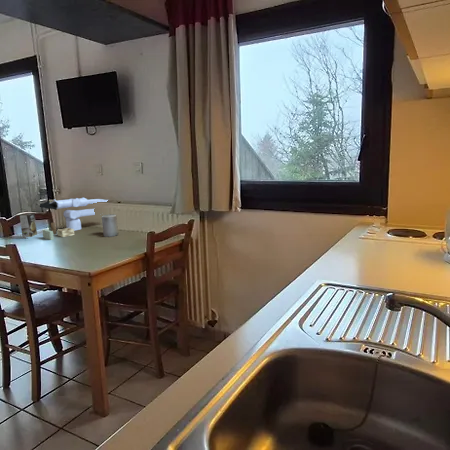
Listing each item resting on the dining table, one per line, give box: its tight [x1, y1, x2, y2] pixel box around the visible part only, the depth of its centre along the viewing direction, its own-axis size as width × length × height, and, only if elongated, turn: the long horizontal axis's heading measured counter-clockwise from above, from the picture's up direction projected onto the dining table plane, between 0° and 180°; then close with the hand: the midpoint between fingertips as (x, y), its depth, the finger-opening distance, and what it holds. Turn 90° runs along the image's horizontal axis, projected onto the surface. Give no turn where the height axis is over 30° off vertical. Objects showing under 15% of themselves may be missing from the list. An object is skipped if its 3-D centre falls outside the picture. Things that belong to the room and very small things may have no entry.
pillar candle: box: [101, 213, 119, 238], centre depth 276 cm, size 10×10×15 cm
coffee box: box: [19, 212, 38, 240], centre depth 280 cm, size 9×6×16 cm
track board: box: [41, 228, 55, 241], centre depth 275 cm, size 21×14×6 cm, turn 136°
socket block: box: [56, 227, 75, 238], centre depth 277 cm, size 8×8×4 cm
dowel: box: [50, 222, 58, 235], centre depth 283 cm, size 3×3×9 cm
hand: (42, 206), depth 277 cm, fingers open, 7 cm apart
